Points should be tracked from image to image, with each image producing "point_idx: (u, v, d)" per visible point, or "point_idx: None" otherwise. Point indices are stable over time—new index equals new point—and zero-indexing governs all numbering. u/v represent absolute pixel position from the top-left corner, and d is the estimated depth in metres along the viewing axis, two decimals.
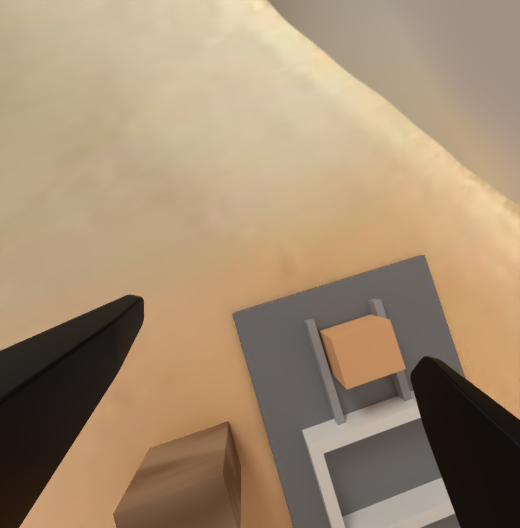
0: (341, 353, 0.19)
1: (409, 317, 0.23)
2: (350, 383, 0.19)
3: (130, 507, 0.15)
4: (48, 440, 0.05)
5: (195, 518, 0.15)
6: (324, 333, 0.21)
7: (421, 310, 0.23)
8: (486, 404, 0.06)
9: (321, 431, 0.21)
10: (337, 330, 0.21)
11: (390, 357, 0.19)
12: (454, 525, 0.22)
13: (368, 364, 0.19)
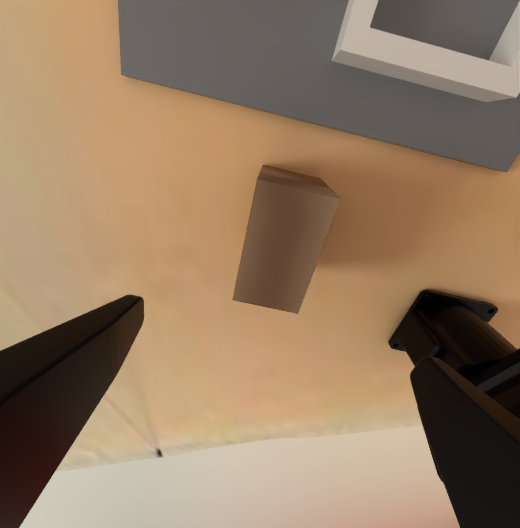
0: None
1: None
2: None
3: (236, 285, 0.14)
4: (48, 440, 0.05)
5: (286, 235, 0.12)
6: None
7: None
8: (486, 404, 0.06)
9: (346, 16, 0.12)
10: None
11: None
12: None
13: None
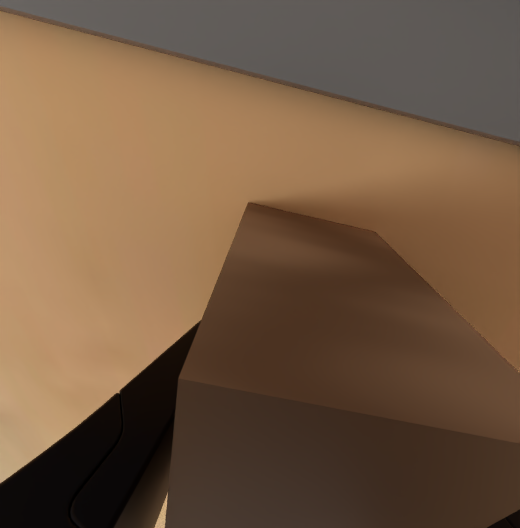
0: None
1: None
2: None
3: None
4: None
5: (318, 518, 0.03)
6: None
7: None
8: None
9: None
10: None
11: None
12: None
13: None
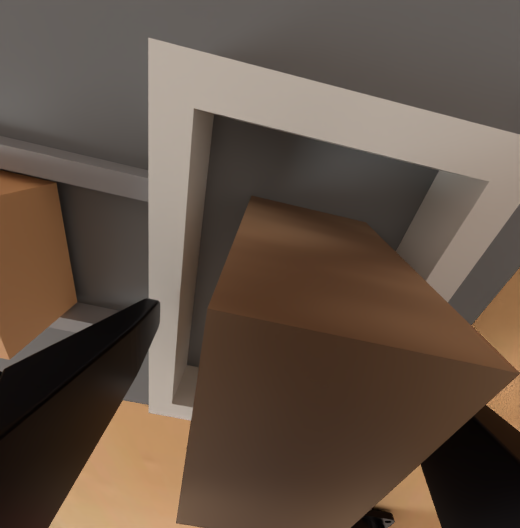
0: None
1: None
2: None
3: None
4: (74, 444, 0.05)
5: (310, 440, 0.04)
6: None
7: None
8: None
9: None
10: None
11: None
12: None
13: None
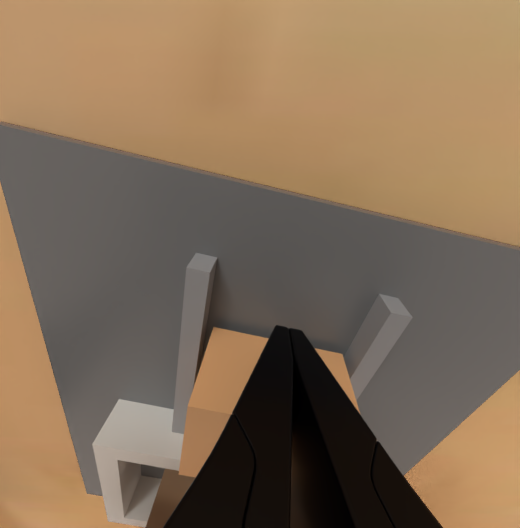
0: (198, 435, 0.07)
1: (429, 365, 0.10)
2: (191, 472, 0.08)
3: None
4: None
5: None
6: (208, 351, 0.08)
7: (464, 367, 0.10)
8: (312, 369, 0.06)
9: (139, 426, 0.11)
10: (238, 365, 0.08)
11: None
12: None
13: None
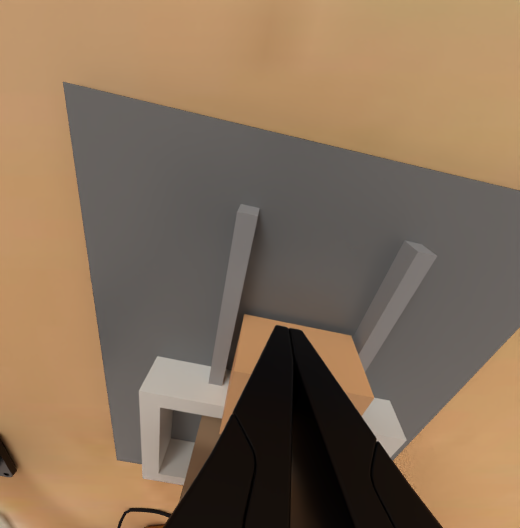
0: None
1: (448, 312, 0.11)
2: None
3: None
4: None
5: None
6: (243, 332, 0.10)
7: (480, 313, 0.11)
8: (312, 370, 0.06)
9: (178, 378, 0.12)
10: None
11: None
12: None
13: None
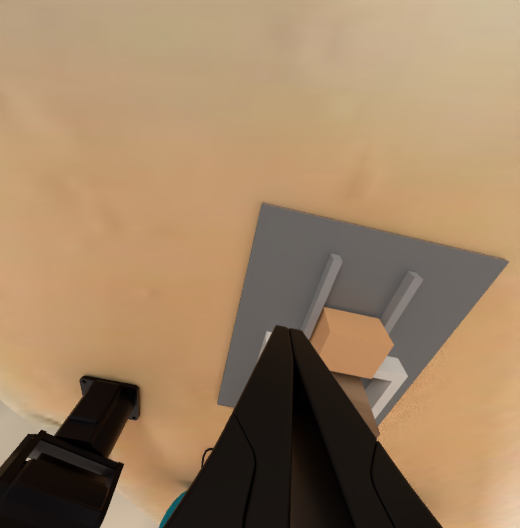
0: (329, 345, 0.19)
1: (430, 306, 0.21)
2: None
3: None
4: None
5: None
6: (326, 315, 0.20)
7: (446, 307, 0.20)
8: (312, 370, 0.06)
9: None
10: (340, 320, 0.20)
11: (367, 367, 0.20)
12: None
13: (345, 362, 0.20)
